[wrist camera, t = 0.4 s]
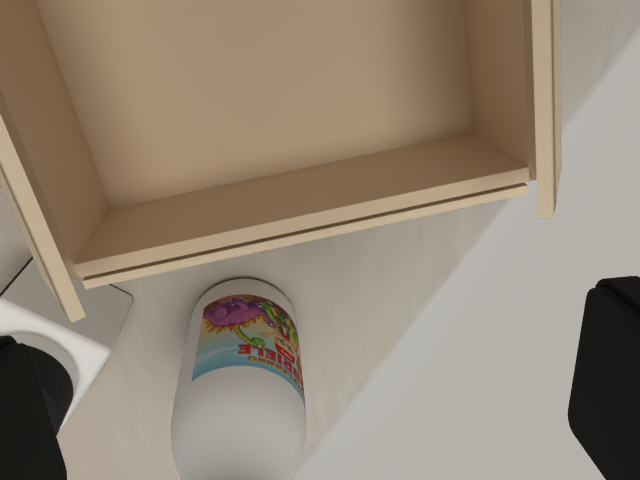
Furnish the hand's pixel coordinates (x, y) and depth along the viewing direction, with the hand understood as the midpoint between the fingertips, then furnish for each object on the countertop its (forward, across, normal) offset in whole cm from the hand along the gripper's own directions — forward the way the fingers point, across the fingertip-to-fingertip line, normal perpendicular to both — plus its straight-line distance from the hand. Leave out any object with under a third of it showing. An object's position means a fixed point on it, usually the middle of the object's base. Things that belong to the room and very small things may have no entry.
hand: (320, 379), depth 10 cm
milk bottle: (+29, +4, +16) cm, 33 cm away
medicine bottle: (+29, +16, +14) cm, 36 cm away
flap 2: (+19, -13, -5) cm, 24 cm away
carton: (+29, 0, -3) cm, 29 cm away
